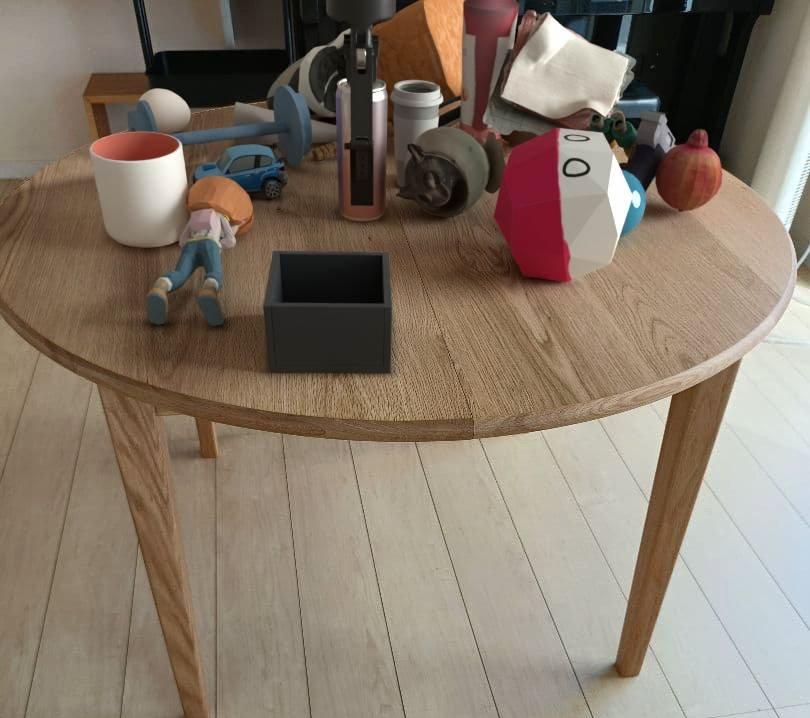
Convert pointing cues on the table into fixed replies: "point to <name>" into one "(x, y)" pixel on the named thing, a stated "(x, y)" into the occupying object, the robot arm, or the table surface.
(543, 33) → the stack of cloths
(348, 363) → the trash bin
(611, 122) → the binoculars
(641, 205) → the ball
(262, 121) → the long tapered cone
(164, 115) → the egg
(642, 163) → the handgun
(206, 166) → the toy car
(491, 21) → the liquor
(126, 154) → the cup
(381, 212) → the beverage can
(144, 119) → the dumbbell
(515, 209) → the decorative object
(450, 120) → the throwing knife
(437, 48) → the bread
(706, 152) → the fruit
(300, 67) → the running shoe
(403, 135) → the cup
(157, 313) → the figurine
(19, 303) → the table surface
